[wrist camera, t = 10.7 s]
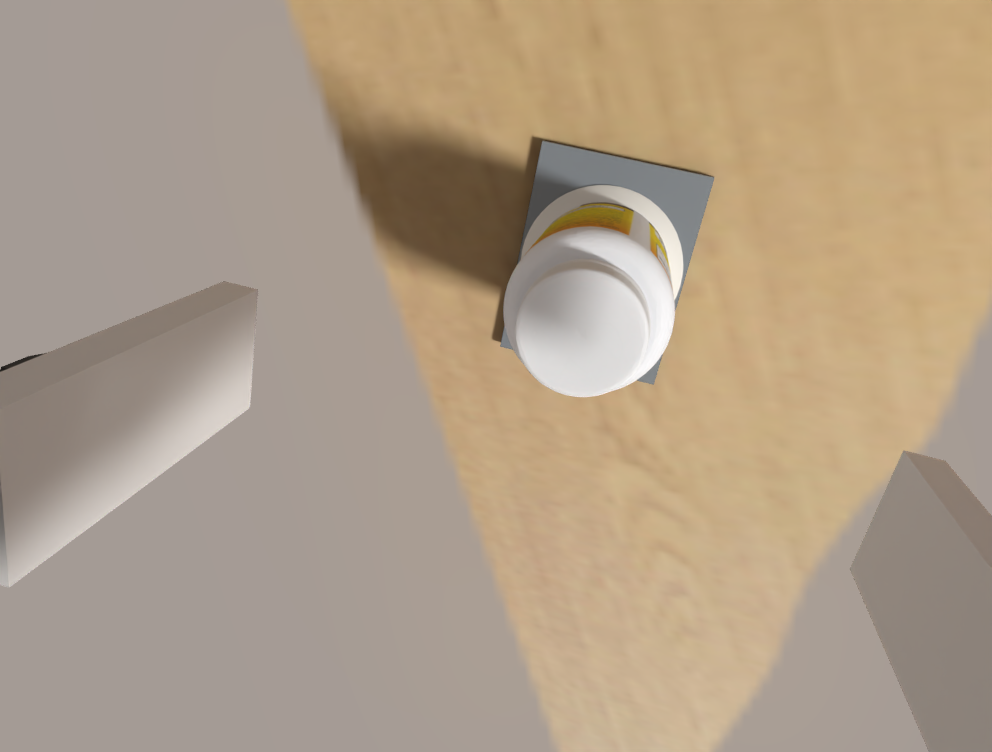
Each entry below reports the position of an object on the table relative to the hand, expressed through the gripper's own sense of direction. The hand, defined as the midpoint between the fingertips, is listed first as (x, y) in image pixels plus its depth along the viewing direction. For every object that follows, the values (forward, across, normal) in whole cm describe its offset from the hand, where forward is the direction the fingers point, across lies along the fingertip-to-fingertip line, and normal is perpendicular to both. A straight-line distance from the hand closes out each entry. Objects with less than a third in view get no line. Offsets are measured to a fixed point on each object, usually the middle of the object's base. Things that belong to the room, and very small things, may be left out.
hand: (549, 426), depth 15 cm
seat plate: (+18, 0, 0) cm, 18 cm away
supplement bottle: (+18, 0, 0) cm, 18 cm away
